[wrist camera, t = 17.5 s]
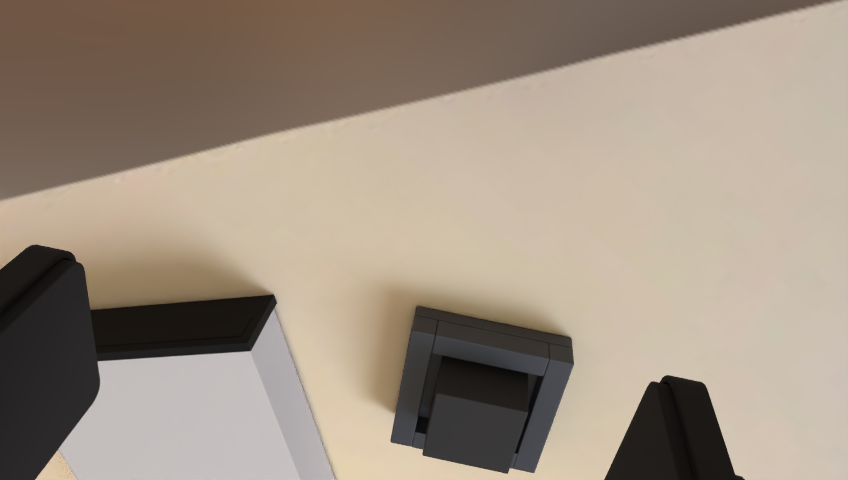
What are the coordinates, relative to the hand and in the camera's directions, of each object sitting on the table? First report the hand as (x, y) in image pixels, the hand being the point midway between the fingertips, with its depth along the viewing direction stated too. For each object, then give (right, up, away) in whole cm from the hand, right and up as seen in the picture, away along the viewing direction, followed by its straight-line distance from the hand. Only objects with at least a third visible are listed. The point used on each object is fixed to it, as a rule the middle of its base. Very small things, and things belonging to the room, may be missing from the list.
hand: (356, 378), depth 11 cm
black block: (+5, -8, +33) cm, 34 cm away
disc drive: (-15, -12, +40) cm, 44 cm away
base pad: (+5, -7, +34) cm, 35 cm away
